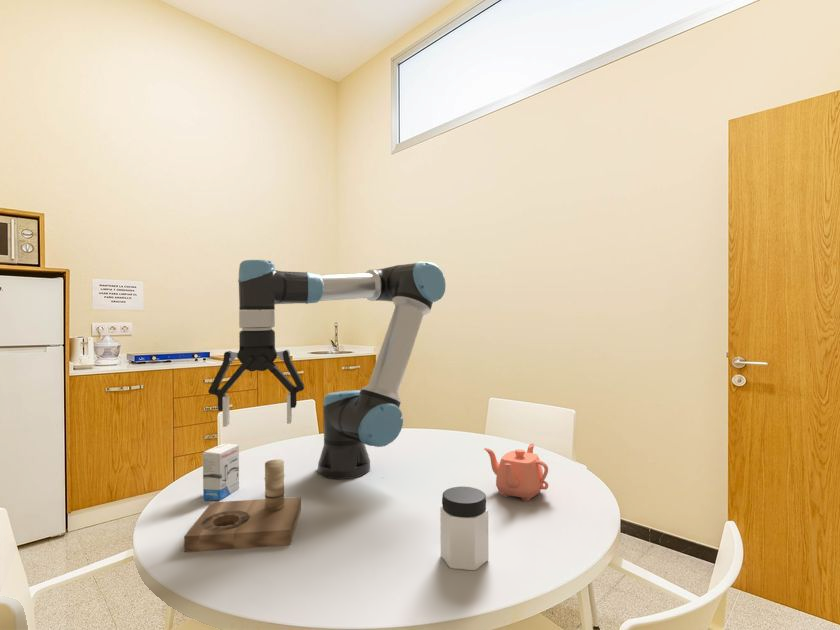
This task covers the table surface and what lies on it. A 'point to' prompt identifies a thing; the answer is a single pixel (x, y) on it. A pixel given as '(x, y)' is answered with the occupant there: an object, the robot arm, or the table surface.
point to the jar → (464, 528)
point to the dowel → (274, 485)
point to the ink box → (220, 471)
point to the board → (243, 525)
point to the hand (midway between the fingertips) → (258, 423)
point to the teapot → (519, 473)
